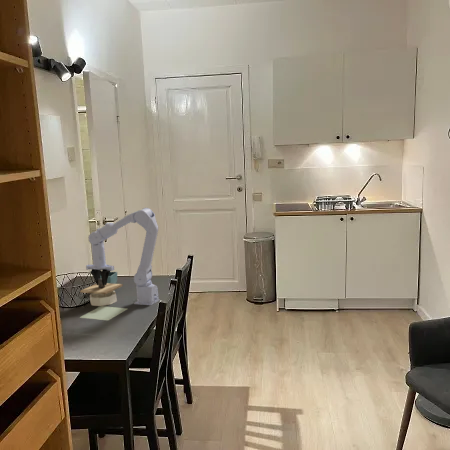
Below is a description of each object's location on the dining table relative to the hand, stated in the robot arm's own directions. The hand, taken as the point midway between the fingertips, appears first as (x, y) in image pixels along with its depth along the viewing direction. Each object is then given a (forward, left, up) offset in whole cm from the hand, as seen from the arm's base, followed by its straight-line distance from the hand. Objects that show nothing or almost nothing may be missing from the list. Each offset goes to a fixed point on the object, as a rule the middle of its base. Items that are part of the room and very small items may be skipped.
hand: (101, 284), depth 225 cm
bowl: (0, 0, -9) cm, 9 cm away
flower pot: (+10, -17, -9) cm, 22 cm away
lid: (0, 0, -2) cm, 2 cm away
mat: (-10, +13, -9) cm, 19 cm away
